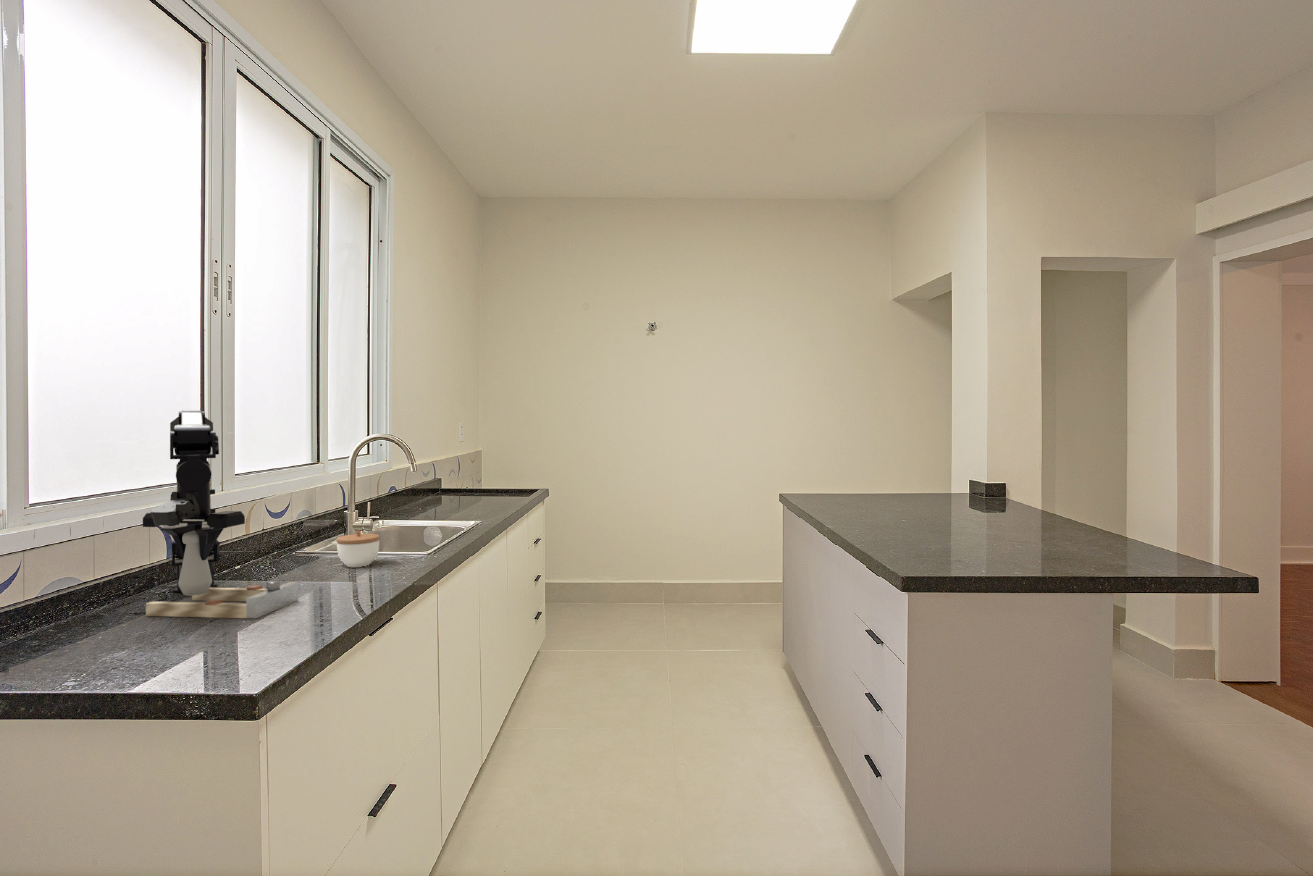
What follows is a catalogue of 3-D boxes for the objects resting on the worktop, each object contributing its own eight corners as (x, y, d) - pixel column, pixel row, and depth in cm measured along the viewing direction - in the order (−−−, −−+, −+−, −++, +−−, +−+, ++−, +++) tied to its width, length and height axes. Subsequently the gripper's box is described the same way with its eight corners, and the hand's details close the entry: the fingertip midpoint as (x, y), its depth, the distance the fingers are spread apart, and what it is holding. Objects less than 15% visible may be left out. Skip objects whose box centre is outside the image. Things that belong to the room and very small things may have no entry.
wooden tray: (144, 616, 129) (144, 588, 129) (198, 598, 143) (197, 573, 142) (256, 618, 127) (255, 590, 127) (299, 600, 141) (299, 574, 140)
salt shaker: (194, 597, 132) (193, 534, 132) (171, 596, 133) (170, 533, 133) (219, 590, 138) (218, 529, 137) (196, 589, 139) (195, 529, 138)
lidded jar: (337, 571, 169) (336, 535, 169) (336, 563, 178) (336, 529, 178) (381, 566, 174) (381, 532, 174) (378, 559, 183) (378, 526, 183)
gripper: (117, 489, 128) (118, 567, 128) (204, 489, 126) (206, 569, 126) (165, 484, 139) (166, 556, 139) (246, 484, 137) (247, 557, 137)
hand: (195, 559), depth 135 cm, fingers closed on salt shaker, 4 cm apart
